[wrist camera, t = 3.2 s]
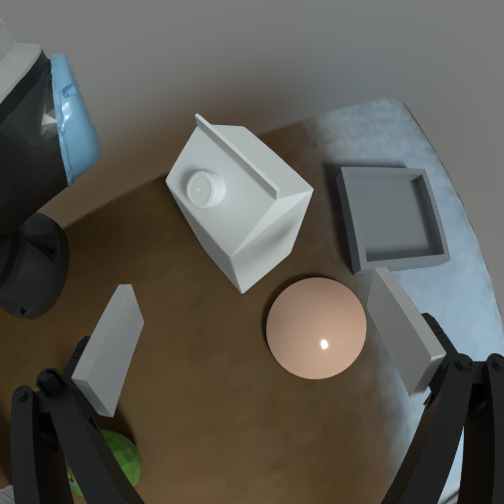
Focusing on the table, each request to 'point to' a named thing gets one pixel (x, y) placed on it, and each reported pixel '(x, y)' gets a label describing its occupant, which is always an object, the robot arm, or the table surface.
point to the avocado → (123, 454)
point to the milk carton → (238, 200)
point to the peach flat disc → (316, 328)
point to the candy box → (7, 495)
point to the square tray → (390, 219)
